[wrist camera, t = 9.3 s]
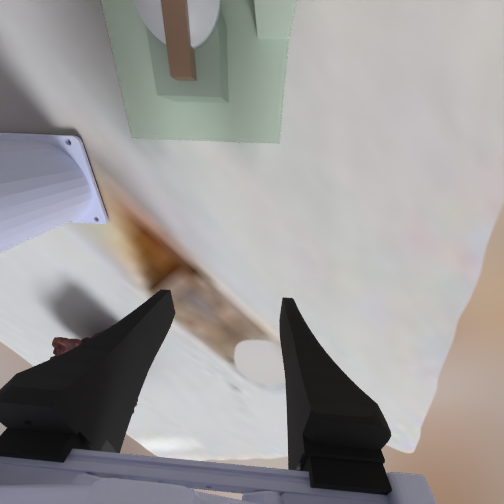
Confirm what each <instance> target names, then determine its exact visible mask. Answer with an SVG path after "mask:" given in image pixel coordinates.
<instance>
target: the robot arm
mask: <svg viewBox="0 0 504 504" xmlns="http://www.w3.org/2000/svg"><path fill="white" fill-rule="evenodd" d="M69 140H70V142H71V144H70V143H69ZM97 218H98V219H99V220H98V219H97ZM68 222H77V223H95V224H105V223H107V222H108V217H107V214H106V211H105V208H104V205H103V202H102V199H101V196H100V193H99V190H98V187H97V184H96V181H95V178H94V176H93V173H92V170H91V167H90V164H89V161H88V158H87V155H86V152H85V149H84V146H83V143H82V141H81V139H80V138H79V137H77V136H74V135H48V134H22V133H0V252H3V251H5V250H7V249H9V248H12V247H14V246H16V245H18V244H21V243H23V242H25V241H27V240H30V239H32V238H34V237H36V236H39V235H41V234H43V233H45V232H48V231H50V230H52V229H54V228H57V227H59V226H61V225H63V224H66V223H68ZM174 315H175V309H174V305H173V300H172V296H171V291H170V290H160V291H158V292H157V293H156V294H155V295H153V296H152V297H151V298H150V299H148V300H147V301H146V302H145V303H143V304H142V305H141V306H139V307H138V308H137V309H135V310H134V311H133V312H132V313H130V314H129V315H127V316H126V317H125V318H123V319H122V320H120V321H119V322H118V323H116V324H115V325H113V326H112V327H110V328H108V329H107V330H105V331H104V332H102V333H100V334H99V335H97V336H95V337H94V338H92V339H90V340H88V341H86V342H84V343H83V344H81V345H79V346H77V347H75V348H73V349H71V350H69V351H67V352H65V353H63V354H61V355H59V356H57V357H55V358H53V359H50V360H48V361H46V362H44V363H41V364H39V365H37V366H34V367H32V368H30V369H27V370H25V371H22V372H20V373H17V374H16V375H15V376H14V377H13V378H12V379H11V380H10V381H9V382H8V383H7V384H5V385H4V386H3V387H2V388H1V389H0V422H1V423H2V424H3V425H4V426H6V427H7V429H6V430H5V431H4V432H3V433H2V435H1V436H0V504H437V502H436V500H435V497H434V495H433V493H432V491H431V489H430V487H429V484H428V482H427V480H426V478H425V477H424V476H423V475H420V474H410V473H399V472H391V473H387V474H386V472H385V469H384V466H383V463H384V462H385V459H384V457H383V454H382V451H381V449H382V448H383V447H384V445H385V444H386V443H387V442H388V441H389V439H390V437H391V431H390V429H389V427H388V424H387V422H386V420H385V418H384V416H383V414H382V412H381V410H380V408H379V406H378V404H377V403H376V402H374V401H373V400H372V399H371V398H370V397H369V396H368V395H367V394H365V393H364V392H363V391H362V390H361V389H360V388H359V387H358V386H357V385H356V384H355V383H354V382H353V381H352V380H351V379H350V378H349V377H348V376H347V375H346V374H345V373H344V372H343V371H342V370H341V369H340V368H339V367H338V366H337V364H336V363H335V362H334V361H333V360H332V359H331V358H330V356H329V355H328V354H327V353H326V351H325V350H324V349H323V348H322V346H321V345H320V344H319V342H318V341H317V339H316V338H315V336H314V335H313V334H312V332H311V330H310V329H309V327H308V326H307V324H306V322H305V321H304V319H303V317H302V315H301V313H300V312H299V310H298V308H297V306H296V303H295V301H294V299H293V298H283V299H282V306H281V313H280V320H279V321H280V340H281V348H282V355H283V363H284V370H285V379H286V400H287V427H288V462H289V463H288V466H289V467H288V468H289V470H286V469H276V468H266V467H255V466H245V465H235V464H224V463H214V462H204V461H194V460H184V459H174V458H163V457H153V456H143V455H132V454H122V453H120V450H121V447H122V444H123V440H124V437H125V434H126V431H127V428H128V425H129V422H130V419H131V416H132V413H133V410H134V407H135V405H136V402H137V399H138V396H139V394H140V391H141V388H142V386H143V383H144V381H145V378H146V376H147V373H148V371H149V368H150V366H151V364H152V362H153V360H154V358H155V356H156V354H157V352H158V350H159V348H160V347H161V345H162V343H163V341H164V339H165V337H166V335H167V333H168V331H169V329H170V326H171V324H172V321H173V318H174ZM190 488H194V489H204V490H213V491H223V492H233V493H242V494H244V495H243V496H242V500H238V499H232V498H228V497H222V496H217V495H212V494H207V493H203V492H197V491H194V490H193V489H190Z"/></svg>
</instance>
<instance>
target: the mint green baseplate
mask: <svg viewBox="0 0 504 504" xmlns="http://www.w3.org/2000/svg"><path fill="white" fill-rule="evenodd" d="M101 5H102V9H103V13H104V18H105V22H106V26H107V31H108V35H109V40H110V44H111V48H112V53H113V57H114V61H115V66H116V70H117V75H118V79H119V83H120V88H121V92H122V96H123V101H124V105H125V110H126V114H127V118H128V123H129V127H130V131H131V136H132V138H145V139H171V140H198V141H224V142H251V143H277V144H279V143H280V132H281V120H282V109H283V97H284V86H285V74H286V63H287V51H288V40H289V35H290V31H291V26H292V22H293V18H294V13H295V9H296V5H297V0H221V5H220V12H219V17H218V21H217V24H216V26H215V29H214V31H213V33H212V34H211V36H210V37H209V39H208V40H207V41H206V42H205V43H204V44H203V45H202V46H200V47H199V48H197V49H195V50H194V51H195V63H196V76H197V81H178V80H176V79H174V78H172V77H170V69H169V62H168V54H167V46H166V45H165V44H164V43H163V42H161V41H160V40H159V39H158V38H157V37H156V36H155V35H154V34H153V33H152V32H151V31H150V30H149V29H148V27H147V26H146V25H145V23H144V22H143V20H142V18H141V17H140V15H139V13H138V11H137V8H136V5H135V3H134V0H101Z"/></svg>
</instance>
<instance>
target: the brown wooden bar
mask: <svg viewBox="0 0 504 504" xmlns="http://www.w3.org/2000/svg"><path fill="white" fill-rule="evenodd" d="M134 3H135V5H136V8H137V11H138V13H139V15H140V17H141V18H142V20H143V22H144V23H145V25H146V26H147V27H148V29H149V30H150V31H151V32H152V33H153V34H154V35H155V36H156V37H157V38H158V39H159V40H160V41H161V42H163V43H164V44H165V45H166V46H167V54H168V62H169V69H170V77H172V78H174V79H176V80H178V81H197V76H196V63H195V51H194V50H195V49H197V48H199V47H200V46H202V45H203V44H204V43H205V42H206V41H207V40H208V39H209V37H210V36H211V34H212V33H213V31H214V29H215V26H216V24H217V21H218V17H219V12H220V5H221V0H134Z"/></svg>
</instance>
